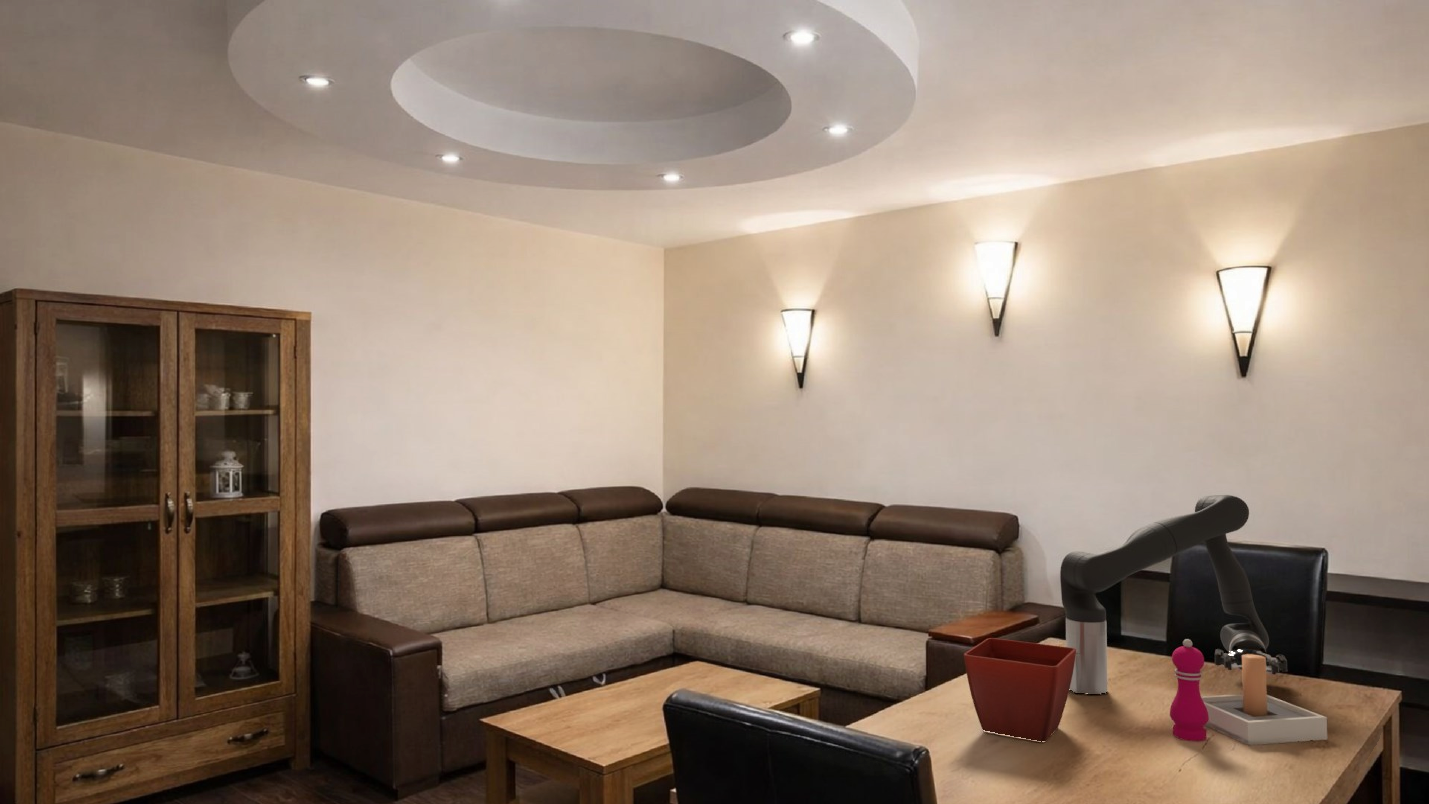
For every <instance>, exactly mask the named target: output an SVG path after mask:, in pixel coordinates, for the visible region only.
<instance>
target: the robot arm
mask: <svg viewBox="0 0 1429 804" xmlns="http://www.w3.org/2000/svg"><path fill="white" fill-rule="evenodd" d="M1249 516H1250V509H1249V506H1248V504H1247V503H1246V502H1245V501H1244V500H1243V499H1242V498H1240V497H1239V496H1235V495H1229V494H1222V495H1221V494H1219V495H1215V494H1214V495H1205V496H1202V497H1201V498H1199V499H1198V501H1197V502H1196V504H1195V507H1194V512H1192V513H1188V514H1184V515H1183V514H1182V515H1179V516H1178V515H1177V516H1174V517H1173V516H1172V517H1170V518H1169V517H1168V518H1164V519H1161V520H1158V521H1155V522H1152V523H1149V524H1147V525H1145V526H1143V527H1140V528H1138V529H1137V530H1135V531H1134V532H1132V534H1130V536H1129V537H1128V538H1127V540H1126V541H1125V542H1124V544H1123V545H1121V546H1119V547H1117V548H1115V549H1112V550H1109V551H1106V552H1102V553H1098V554H1097V553H1096V554H1094V553H1089V552H1085V551H1079V550H1078V551H1077V550H1076V551H1072V552H1068V554H1066V555H1065V556H1064V558H1063V560H1062V562H1061V565H1060V571H1059V572H1060V573H1059V577H1060V578H1059V579H1060V580H1059V581H1060V591H1061V593H1060V594H1061V603H1062V606H1063V609H1064V612H1065V647H1069V648H1075V649H1076V656H1075V663H1074V669H1073V675H1072V680H1071V684H1070V690H1072V691H1074V692H1075V693H1088V694H1100V693H1105V694H1107V693H1108V692H1107V691H1108V683H1109V682H1108V644H1107V643H1108V642H1107V641H1108V640H1107V639H1108V637H1107V632H1108V631H1107V610H1106V608H1105V607H1104V606H1103V604H1101V603H1100V602H1099V600H1098V598H1097V597H1096V593H1101V592H1103V591H1106V590H1107V589H1109V588H1111V587H1113V586H1114V585H1117V584H1118V583H1119V582H1121V581H1123V580H1125V579H1126V578H1127V577H1130V576H1131V575H1133V574H1135V573H1137V572H1140V571H1143V570H1145V569H1147V568H1150V567H1152V566H1154V565H1157V564H1160V563H1162V562H1164V561H1166V560H1168V559H1171V558H1174V557H1176V556H1177V555H1179V554H1181V553H1184V552H1185V551H1188V550H1189V549H1192V548H1194V547H1196V546H1197V545H1199V544H1201V543H1204V545H1205V549H1206V551H1207V552H1208V555H1209V559H1210V561H1211V564H1212V566H1213V570H1214V573H1215V574H1214V575H1215V577H1216V582H1217V586H1218V591H1219V595H1220V601H1221V606H1222V609H1223V612H1224V613H1226V614H1228V615H1232V616H1241V617H1244V618H1245V619H1246V620H1248V622H1241V623H1240V622H1238V623H1228V624H1225V625H1224V626H1222V628H1221V630H1220V635H1219V636H1220V640H1221V644H1222V645H1223V648H1224V649H1225V650H1226V651H1227V652H1228V653H1226V652H1225V653H1224V650H1222V649H1220V648H1217V649H1216V648H1215V651H1214V665H1215V666H1217V667H1219V666H1221V665H1223V667H1224V668H1226V669H1227V671H1232V668H1235V669H1236V668H1238V669H1239V670H1241V671H1242V655H1245V654H1252V655H1260V656H1263V657H1265V658H1266V672H1267V671H1270V672H1271V675H1277V674H1278V673H1280V671H1281V672H1283V673H1286V672H1288V660H1287V659H1286V657H1285V655H1283V654H1282V653H1281V654H1277V655H1275V657H1272V656H1271V655H1270V654H1268V653H1267V652H1268V651H1267V649H1268V647H1269V645H1270V637H1269V634H1268V632H1267V630H1266V628H1265V626H1264V625H1263V623H1262V621H1261V619H1260V617H1259V615H1258V612H1257V611H1256V608H1255V604H1254V600H1253V594H1252V590H1251V586H1250V581H1249V579H1248V576H1247V573H1246V572H1245V570H1244V568H1243V567H1242V565H1241V563H1240V562H1239V561H1238V559H1237V558H1236V556H1235V554H1234V553H1233V551H1232V549H1231V547H1230V545H1229V544H1230V543H1229V542H1228V539H1227V534H1231V533H1233V532H1237V531H1239V530H1240V529H1242V528H1243V527H1244V526H1245V525H1246V523H1247V522H1248V521H1249ZM1070 690H1069V691H1070ZM1072 691H1071V692H1072ZM1074 692H1073V693H1074ZM1106 692H1107V693H1106ZM1075 693H1074V694H1075ZM1100 695H1101V694H1100Z"/></svg>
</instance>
